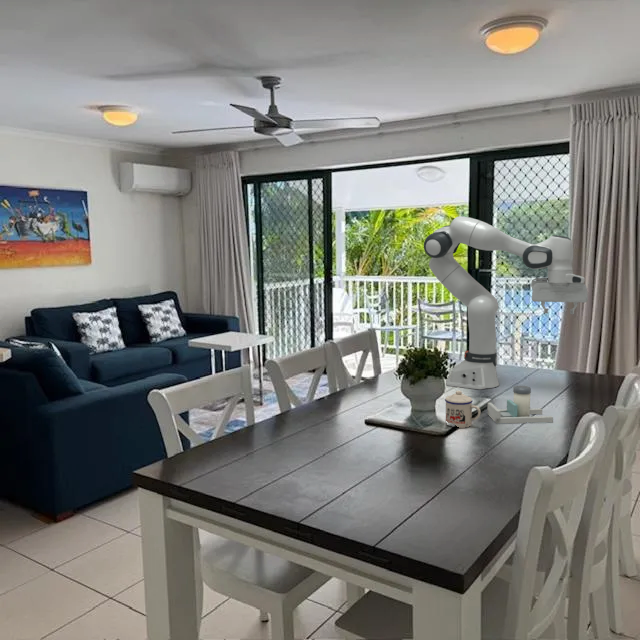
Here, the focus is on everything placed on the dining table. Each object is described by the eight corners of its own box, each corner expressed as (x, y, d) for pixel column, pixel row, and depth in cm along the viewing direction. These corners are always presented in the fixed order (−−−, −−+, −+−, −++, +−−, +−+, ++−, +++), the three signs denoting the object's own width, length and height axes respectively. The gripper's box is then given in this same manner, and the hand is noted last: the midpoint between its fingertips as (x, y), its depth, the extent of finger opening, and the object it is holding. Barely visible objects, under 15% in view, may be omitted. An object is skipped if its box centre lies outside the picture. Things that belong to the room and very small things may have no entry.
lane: (540, 413, 217) (541, 401, 217) (552, 422, 207) (553, 409, 206) (487, 414, 217) (487, 402, 217) (497, 423, 206) (497, 411, 206)
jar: (512, 420, 210) (512, 389, 209) (513, 415, 216) (514, 385, 214) (529, 421, 208) (530, 390, 207) (530, 416, 214) (531, 386, 212)
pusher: (509, 414, 215) (510, 399, 215) (517, 420, 208) (517, 405, 207) (497, 415, 215) (497, 400, 215) (504, 421, 208) (504, 405, 207)
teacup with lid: (441, 426, 205) (441, 392, 203) (450, 419, 213) (450, 386, 211) (475, 431, 199) (476, 396, 197) (484, 424, 206) (484, 390, 205)
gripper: (530, 278, 234) (530, 313, 236) (588, 278, 226) (587, 315, 228) (531, 277, 240) (530, 311, 241) (588, 277, 232) (586, 313, 234)
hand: (558, 313), depth 235 cm, fingers open, 8 cm apart
